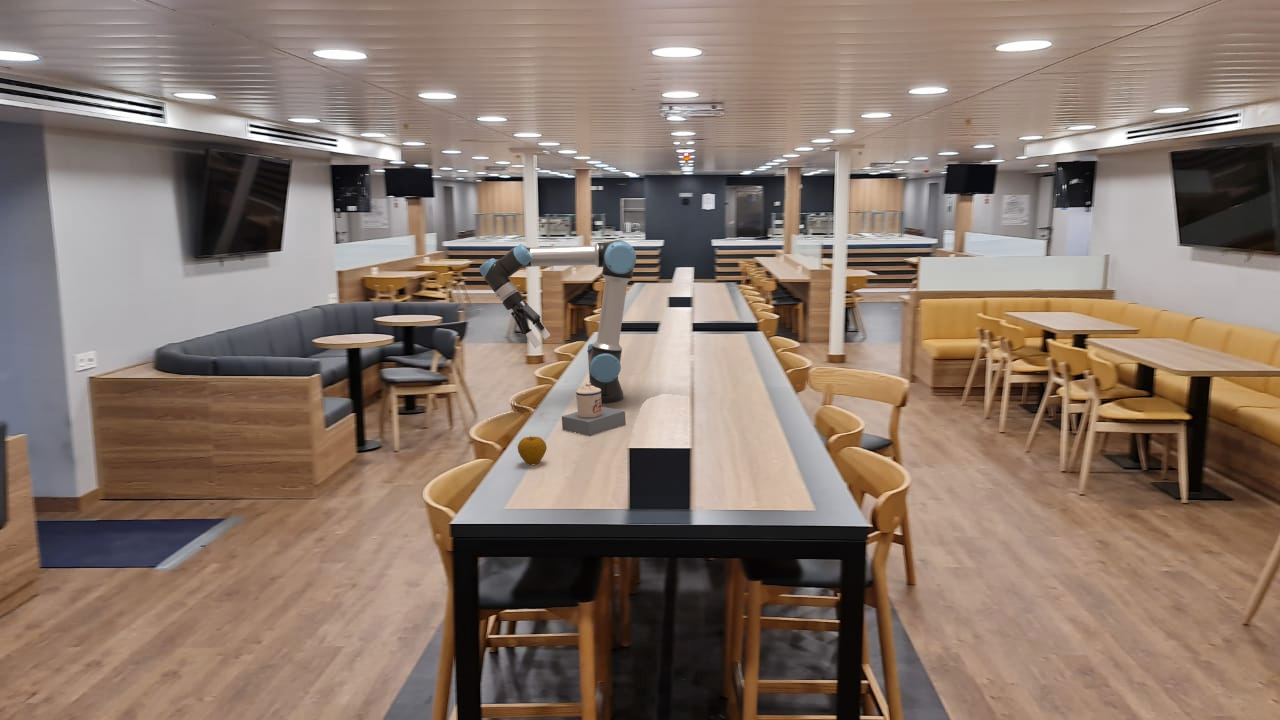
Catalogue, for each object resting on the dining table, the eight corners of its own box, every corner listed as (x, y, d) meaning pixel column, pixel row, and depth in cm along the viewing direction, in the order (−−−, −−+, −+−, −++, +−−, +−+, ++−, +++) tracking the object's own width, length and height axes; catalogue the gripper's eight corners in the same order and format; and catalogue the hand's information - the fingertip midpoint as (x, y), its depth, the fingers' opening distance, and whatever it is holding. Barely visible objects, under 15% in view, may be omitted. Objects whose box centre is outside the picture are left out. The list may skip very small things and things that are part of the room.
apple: (546, 458, 282) (544, 431, 281) (548, 466, 274) (546, 438, 272) (518, 460, 281) (516, 433, 279) (519, 469, 272) (517, 441, 270)
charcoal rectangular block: (598, 418, 328) (597, 405, 327) (625, 424, 318) (624, 411, 317) (562, 429, 315) (561, 416, 314) (589, 436, 305) (588, 422, 304)
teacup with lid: (597, 418, 308) (595, 386, 306) (573, 417, 311) (571, 385, 309) (609, 410, 319) (607, 378, 317) (586, 409, 322) (584, 378, 320)
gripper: (495, 310, 342) (527, 354, 343) (509, 291, 320) (543, 338, 320) (510, 300, 345) (542, 344, 346) (525, 281, 323) (559, 328, 323)
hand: (543, 342), depth 333 cm, fingers open, 13 cm apart
